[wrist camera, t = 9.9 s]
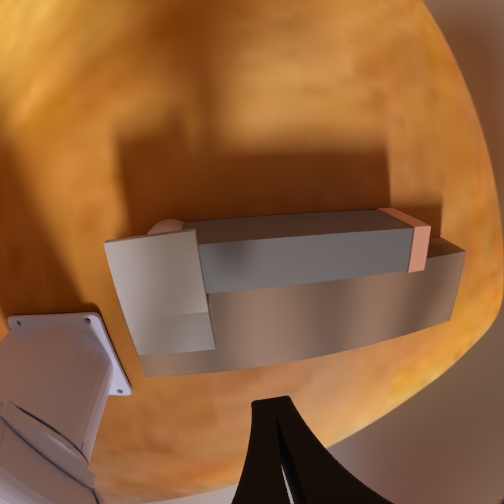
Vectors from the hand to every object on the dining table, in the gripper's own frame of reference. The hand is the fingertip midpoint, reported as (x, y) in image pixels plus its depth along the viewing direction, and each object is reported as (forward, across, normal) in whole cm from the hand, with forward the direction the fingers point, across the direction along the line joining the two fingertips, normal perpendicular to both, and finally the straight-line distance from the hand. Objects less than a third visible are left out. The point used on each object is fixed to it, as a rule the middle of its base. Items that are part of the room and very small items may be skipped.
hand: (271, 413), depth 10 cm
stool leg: (+9, -2, -4) cm, 10 cm away
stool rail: (+9, -4, -1) cm, 10 cm away
